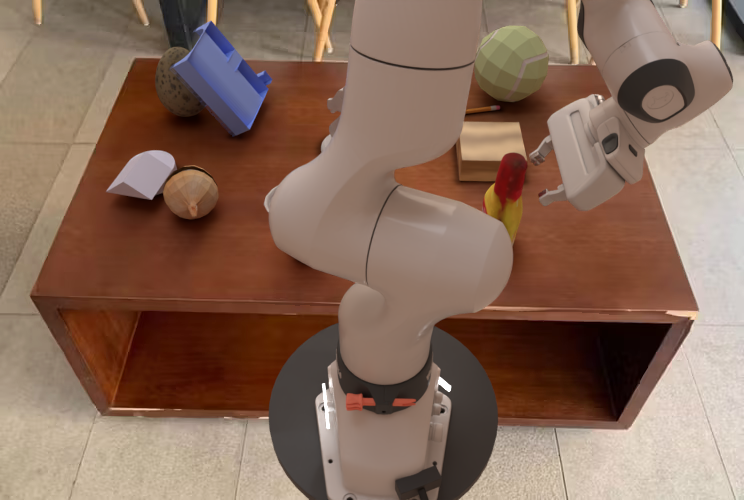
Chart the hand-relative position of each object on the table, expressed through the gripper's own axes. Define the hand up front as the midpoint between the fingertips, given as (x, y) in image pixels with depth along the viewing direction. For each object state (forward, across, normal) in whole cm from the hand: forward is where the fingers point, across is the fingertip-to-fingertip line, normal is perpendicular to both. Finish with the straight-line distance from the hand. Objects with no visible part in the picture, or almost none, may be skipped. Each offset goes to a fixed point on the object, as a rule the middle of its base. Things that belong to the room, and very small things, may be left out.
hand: (536, 180), depth 105 cm
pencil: (+10, -41, +11) cm, 43 cm away
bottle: (+14, 0, +8) cm, 16 cm away
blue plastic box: (+41, -37, -35) cm, 65 cm away
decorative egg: (+57, -38, -35) cm, 77 cm away
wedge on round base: (+57, -8, -40) cm, 70 cm away
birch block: (+13, -23, +8) cm, 28 cm away
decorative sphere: (-4, -46, +3) cm, 46 cm away
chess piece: (+33, -26, -11) cm, 44 cm away
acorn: (+51, -14, -32) cm, 62 cm away
